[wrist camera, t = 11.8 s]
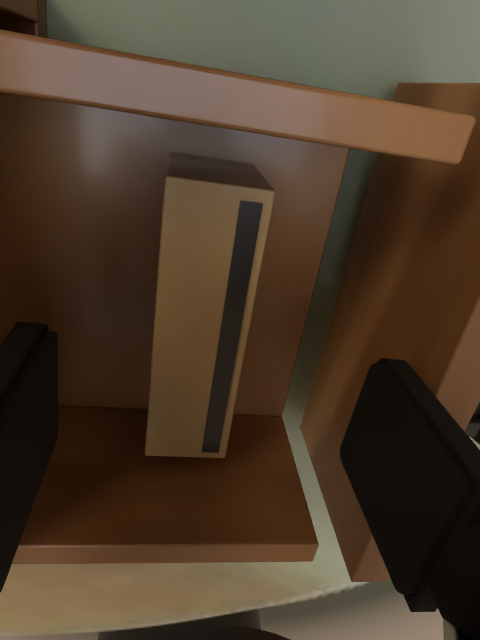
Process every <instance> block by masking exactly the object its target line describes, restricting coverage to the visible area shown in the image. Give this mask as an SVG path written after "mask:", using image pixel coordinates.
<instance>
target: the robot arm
mask: <svg viewBox="0 0 480 640" xmlns="http://www.w3.org/2000/svg"><path fill="white" fill-rule="evenodd" d="M57 436H58V336H57V332H53V331H49V328H48V325H47V324H40V323H30V322H17V323H16V324H15V325H14V327H13V328H12V330H11V331H10V332H9V334H8V335H7V336H6V338H5V339H4V340H3V342H2V343H1V345H0V592H1V591H2V589H3V586H4V584H5V581H6V578H7V575H8V573H9V570H10V567H11V565H12V562H13V559H14V556H15V554H16V551H17V548H18V546H19V543H20V540H21V537H22V535H23V532H24V529H25V527H26V524H27V521H28V518H29V516H30V513H31V510H32V507H33V505H34V502H35V499H36V497H37V494H38V491H39V488H40V486H41V483H42V480H43V478H44V475H45V472H46V469H47V467H48V464H49V461H50V459H51V456H52V453H53V450H54V448H55V445H56V441H57ZM340 459H341V462H342V465H343V467H344V469H345V472H346V474H347V476H348V479H349V481H350V483H351V486H352V488H353V491H354V493H355V495H356V498H357V500H358V502H359V505H360V507H361V509H362V512H363V514H364V516H365V519H366V521H367V524H368V526H369V528H370V531H371V533H372V535H373V538H374V540H375V542H376V545H377V547H378V550H379V552H380V554H381V557H382V559H383V561H384V564H385V566H386V568H387V571H388V573H389V575H390V578H391V580H392V582H393V585H394V587H395V589H396V590H397V591H398V592H399V593H401V594H403V595H404V597H405V600H406V602H407V604H408V606H409V609H410V611H411V612H435V611H436V609H437V608H438V609H439V611H440V613H441V616H442V617H443V619H444V620H443V629H444V640H480V450H479V449H478V447H477V446H476V445H475V444H474V443H473V441H472V440H471V439H470V438H469V436H468V435H467V434H466V433H465V432H464V430H463V429H462V428H461V427H460V426H459V424H458V423H457V422H456V421H455V419H454V418H453V417H452V416H451V415H450V413H449V412H448V411H447V410H446V409H445V407H444V406H443V405H442V404H441V403H440V401H439V400H438V399H437V398H436V396H435V395H434V394H433V393H432V392H431V390H430V389H429V388H428V387H427V386H426V384H425V383H424V382H423V381H422V379H421V378H420V377H419V376H418V375H417V373H416V372H415V371H414V370H413V369H412V367H411V366H410V365H409V364H408V363H407V362H406V361H405V360H398V359H388V358H381V359H379V360H378V361H377V363H373V364H372V365H371V366H370V368H369V370H368V373H367V375H366V378H365V381H364V384H363V386H362V389H361V392H360V394H359V397H358V400H357V403H356V405H355V408H354V411H353V413H352V416H351V419H350V422H349V424H348V427H347V430H346V433H345V435H344V438H343V441H342V443H341V447H340Z"/></svg>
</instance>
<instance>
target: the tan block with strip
mask: <svg viewBox="0 0 480 640" xmlns="http://www.w3.org/2000/svg"><path fill="white" fill-rule="evenodd" d="M274 198H275V190H274V189H273V188H272V187H271V185H270V184H269V183H268V182H267V180H266V179H265V178H264V177H263V175H262V174H261V173H260V172H259V171H258V169H257V168H256V167H255V166H254V165H253V164H249V163H242V162H235V161H229V160H222V159H215V158H208V157H202V156H195V155H188V154H181V153H175V152H171V153H170V155H169V160H168V165H167V169H166V174H165V181H164V194H163V208H162V222H161V235H160V249H159V263H158V276H157V290H156V304H155V317H154V331H153V345H152V358H151V372H150V386H149V399H148V413H147V427H146V440H145V455H146V456H174V457H206V458H225V456H226V451H227V446H228V440H229V435H230V430H231V424H232V419H233V414H234V409H235V403H236V398H237V393H238V388H239V382H240V377H241V372H242V367H243V361H244V356H245V351H246V345H247V340H248V335H249V330H250V324H251V319H252V314H253V309H254V303H255V298H256V293H257V288H258V282H259V277H260V272H261V266H262V261H263V256H264V251H265V245H266V240H267V235H268V230H269V224H270V219H271V214H272V208H273V203H274Z"/></svg>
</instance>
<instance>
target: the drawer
mask: <svg viewBox="0 0 480 640" xmlns="http://www.w3.org/2000/svg"><path fill="white" fill-rule="evenodd" d="M350 148H351V149H357V150H363V151H370V152H376V153H378V156H377V159H376V163H375V166H374V170H373V173H372V177H371V180H370V184H369V187H368V191H367V194H366V198H365V201H364V205H363V208H362V212H361V215H360V219H359V222H358V226H357V229H356V233H355V236H354V240H353V243H352V247H351V250H350V254H349V257H348V261H347V264H346V268H345V271H344V275H343V278H342V282H341V285H340V289H339V292H338V296H337V299H336V303H335V306H334V310H333V313H332V317H331V321H330V324H329V328H328V331H327V335H326V338H325V342H324V345H323V349H322V352H321V356H320V359H319V363H318V366H317V370H316V373H315V377H314V380H313V384H312V387H311V391H310V394H309V398H308V401H307V405H306V408H305V412H304V415H303V419H302V422H301V426H300V428H301V431H302V434H303V437H304V440H305V443H306V446H307V449H308V452H309V455H310V458H311V461H312V464H313V467H314V470H315V473H316V476H317V479H318V482H319V485H320V489H321V492H322V495H323V498H324V501H325V504H326V507H327V510H328V513H329V516H330V519H331V522H332V525H333V528H334V531H335V534H336V537H337V540H338V543H339V546H340V549H341V552H342V555H343V558H344V561H345V564H346V567H347V570H348V573H349V576H350V579H351V581H352V582H378V581H387V580H388V579H389V577H390V575H389V573H388V571H387V568H386V566H385V564H384V561H383V559H382V557H381V554H380V552H379V550H378V547H377V545H376V542H375V540H374V538H373V535H372V533H371V531H370V528H369V526H368V524H367V521H366V519H365V516H364V514H363V512H362V509H361V507H360V505H359V502H358V500H357V498H356V495H355V493H354V491H353V488H352V486H351V483H350V481H349V479H348V476H347V474H346V472H345V469H344V467H343V465H342V462H341V459H340V447H341V443H342V441H343V438H344V435H345V433H346V430H347V427H348V424H349V422H350V419H351V416H352V413H353V411H354V408H355V405H356V403H357V400H358V397H359V394H360V392H361V389H362V386H363V384H364V381H365V378H366V375H367V373H368V370H369V368H370V366H371V365H372V364H373V363H377V361H378V360H379V359H381V358H388V359H398V360H405V361H406V362H407V363H408V364H409V365H410V366H411V367H412V369H413V370H414V371H415V372H416V373H417V375H418V376H419V377H420V378H421V379H422V381H423V382H424V383H425V384H426V386H427V387H428V388H429V389H430V390H431V392H432V393H433V394H434V395H435V396H436V398H437V399H438V400H439V401H440V403H441V404H442V405H443V406H444V407H445V409H446V410H447V411H448V412H449V413H450V415H451V416H452V417H453V418H454V419H455V421H456V422H457V423H458V424H459V426H460V427H461V428H462V429H463V430H464V432H465V433H466V434H467V435H468V436H469V437H472V438H473V439H474V440H475V441H476V442H477V443H479V444H480V83H398V85H397V89H396V92H395V96H394V99H393V101H389V100H384V99H378V98H373V97H367V96H362V95H356V94H351V93H345V92H340V91H334V90H329V89H323V88H318V87H312V86H307V85H302V84H296V83H291V82H285V81H280V80H274V79H269V78H263V77H258V76H252V75H247V74H241V73H236V72H230V71H225V70H219V69H214V68H208V67H203V66H197V65H192V64H186V63H181V62H176V61H170V60H165V59H159V58H154V57H148V56H143V55H137V54H132V53H126V52H121V51H115V50H110V49H104V48H99V47H93V46H88V45H82V44H77V43H71V42H66V41H60V40H55V39H50V38H44V37H39V36H33V35H28V34H22V33H17V32H11V31H6V30H0V345H1V343H2V342H3V340H4V339H5V338H6V336H7V335H8V334H9V332H10V331H11V330H12V328H13V327H14V325H15V324H16V323H17V322H30V323H40V324H47V325H48V328H49V331H53V332H57V336H58V436H57V441H56V445H55V448H54V450H53V453H52V456H51V459H50V461H49V464H48V467H47V469H46V472H45V475H44V478H43V480H42V483H41V486H40V488H39V491H38V494H37V497H36V499H35V502H34V505H33V507H32V510H31V513H30V516H29V518H28V521H27V524H26V527H25V529H24V532H23V535H22V537H21V540H20V543H19V546H18V548H17V551H16V554H15V556H14V559H13V562H12V564H89V563H194V562H298V561H313V559H314V556H315V554H316V551H317V548H318V541H317V537H316V534H315V530H314V527H313V523H312V520H311V516H310V513H309V510H308V506H307V503H306V499H305V496H304V492H303V489H302V485H301V482H300V478H299V475H298V471H297V468H296V464H295V461H294V457H293V454H292V450H291V447H290V443H289V440H288V436H287V433H286V429H285V426H284V422H283V419H282V413H283V409H284V405H285V401H286V397H287V393H288V389H289V385H290V381H291V377H292V373H293V370H294V366H295V362H296V358H297V354H298V350H299V346H300V342H301V338H302V334H303V330H304V327H305V323H306V319H307V315H308V311H309V307H310V303H311V299H312V295H313V291H314V287H315V283H316V280H317V276H318V272H319V268H320V264H321V260H322V256H323V252H324V248H325V244H326V240H327V236H328V233H329V229H330V225H331V221H332V217H333V213H334V209H335V205H336V201H337V197H338V193H339V189H340V186H341V182H342V178H343V174H344V170H345V166H346V162H347V158H348V154H349V150H350ZM171 152H175V153H181V154H188V155H195V156H202V157H208V158H215V159H222V160H229V161H235V162H242V163H249V164H253V165H254V166H255V167H256V168H257V169H258V171H259V172H260V173H261V174H262V175H263V177H264V178H265V179H266V180H267V182H268V183H269V184H270V185H271V187H272V188H273V189H274V190H275V198H274V203H273V208H272V214H271V219H270V224H269V230H268V235H267V240H266V245H265V251H264V256H263V261H262V266H261V272H260V277H259V282H258V288H257V293H256V298H255V303H254V309H253V314H252V319H251V324H250V330H249V335H248V340H247V345H246V351H245V356H244V361H243V367H242V372H241V377H240V382H239V388H238V393H237V398H236V403H235V409H234V414H233V419H232V424H231V430H230V435H229V440H228V446H227V451H226V456H225V458H206V457H174V456H146V455H145V440H146V427H147V413H148V399H149V386H150V372H151V358H152V345H153V331H154V317H155V304H156V290H157V276H158V263H159V249H160V235H161V222H162V208H163V194H164V181H165V174H166V169H167V165H168V160H169V155H170V153H171Z"/></svg>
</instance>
